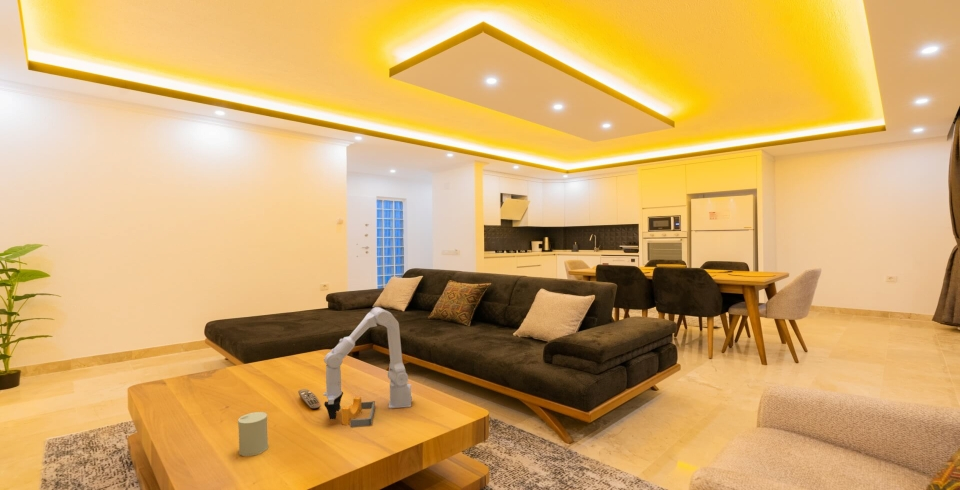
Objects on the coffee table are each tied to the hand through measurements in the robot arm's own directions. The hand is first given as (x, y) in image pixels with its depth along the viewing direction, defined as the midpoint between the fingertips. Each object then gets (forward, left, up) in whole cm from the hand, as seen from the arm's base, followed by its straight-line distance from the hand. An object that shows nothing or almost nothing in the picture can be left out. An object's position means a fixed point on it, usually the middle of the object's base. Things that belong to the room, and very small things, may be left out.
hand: (334, 414), depth 177 cm
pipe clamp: (-6, 0, -2) cm, 7 cm away
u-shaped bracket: (-11, 0, -2) cm, 11 cm away
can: (+24, +21, -2) cm, 32 cm away
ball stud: (+2, -10, -2) cm, 10 cm away
